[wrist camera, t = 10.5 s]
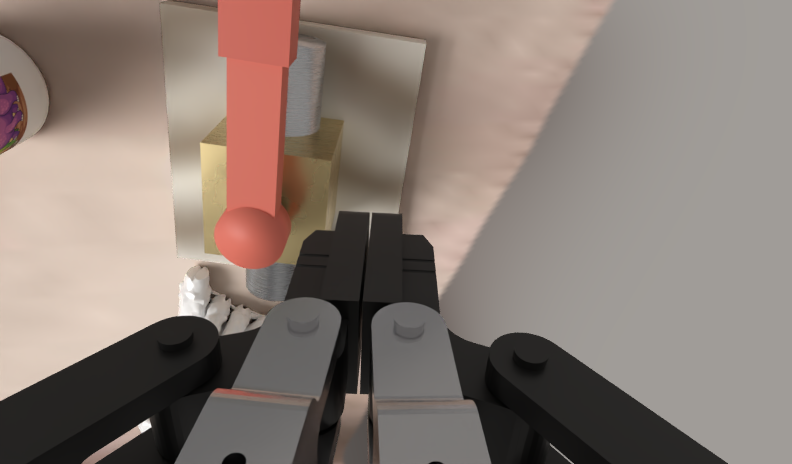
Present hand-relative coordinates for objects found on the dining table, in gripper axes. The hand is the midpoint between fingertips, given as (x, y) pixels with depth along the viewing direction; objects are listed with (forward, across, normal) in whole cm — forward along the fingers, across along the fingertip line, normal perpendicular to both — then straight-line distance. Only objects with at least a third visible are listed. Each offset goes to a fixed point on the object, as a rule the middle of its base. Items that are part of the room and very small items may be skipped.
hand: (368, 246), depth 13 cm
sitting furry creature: (+25, +13, +23) cm, 36 cm away
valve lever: (+16, +6, +2) cm, 17 cm away
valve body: (+23, +7, +7) cm, 25 cm away
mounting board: (+24, +6, +7) cm, 26 cm away
